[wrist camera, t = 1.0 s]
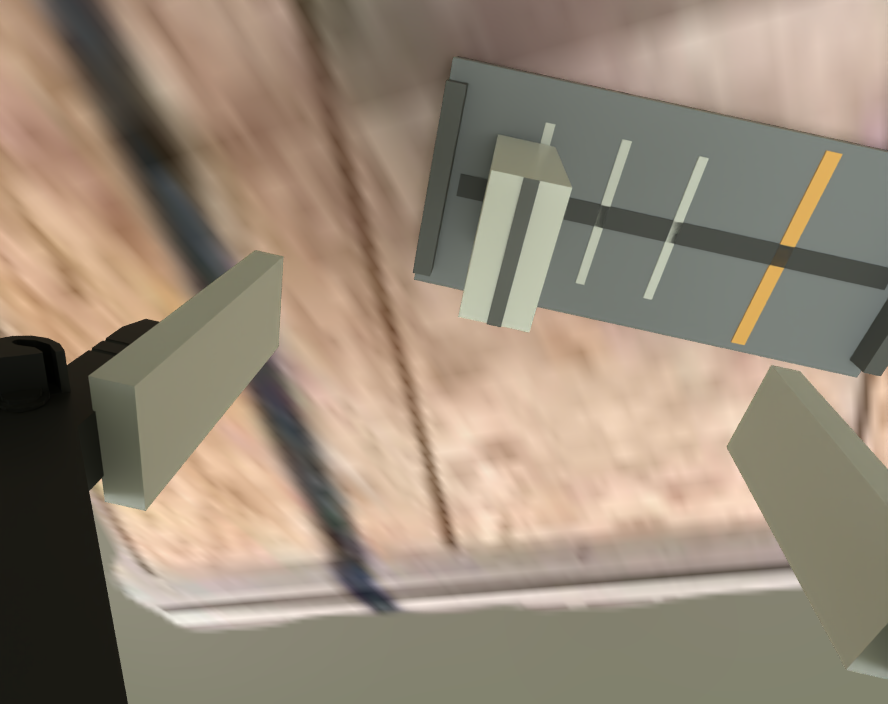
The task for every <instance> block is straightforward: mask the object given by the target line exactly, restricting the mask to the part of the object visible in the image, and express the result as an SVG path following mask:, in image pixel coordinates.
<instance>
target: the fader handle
mask: <svg viewBox="0 0 888 704" xmlns="http://www.w3.org/2000/svg"><path fill="white" fill-rule="evenodd" d="M571 191H572V186H571V184H570V181H569V179H568V176H567V174H566V172H565V169H564V167H563V164H562V162H561V160H560V157H559V155H558V153H557V150H556V148H555V147H554V146H549V145H545V144H540V143H535V142H531V141H526V140H522V139H517V138H513V137H508V136H504V135H499V134H498V137H497V141H496V146H495V150H494V155H493V159H492V164H491V168H490V173H489V177H488V182H487V186H486V190H485V195H484V199H483V204H482V208H481V213H480V217H479V222H478V226H477V231H476V235H475V240H474V244H473V249H472V254H471V258H470V263H469V268H468V273H467V278H466V282H465V287H464V292H463V297H462V302H461V306H460V311H459V316H458V317H462V318H466V319H471V320H475V321H480V322H484V323H487V324H489V325H493V326H498V327H501V326H502V327H507V328H511V329H516V330H520V331H525V332H530V328H531V325H532V321H533V318H534V315H535V311H536V308H537V305H538V301H539V298H540V295H541V291H542V288H543V285H544V281H545V278H546V274H547V271H548V268H549V264H550V261H551V258H552V254H553V251H554V248H555V244H556V241H557V238H558V234H559V231H560V227H561V224H562V221H563V217H564V214H565V211H566V207H567V204H568V201H569V197H570V194H571Z"/></svg>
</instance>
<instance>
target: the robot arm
mask: <svg viewBox="0 0 888 704" xmlns="http://www.w3.org/2000/svg"><path fill="white" fill-rule="evenodd" d="M282 275H283V256H279V255H274V254H270V253H265V252H261V251H256V250H255V251H254V252H252V253H251V254H250V255H248V256H247V257H246V258H244V259H243V260H242V261H240V262H239V263H238V264H236V265H235V266H234V267H232V268H231V269H230V270H228V271H227V272H226V273H224V274H223V275H222V276H220V277H219V278H218V279H216V280H215V281H214V282H212V283H211V284H210V285H209V286H207V287H206V288H205V289H203V290H202V291H201V292H199V293H198V294H197V295H195V296H194V297H193V298H191V299H190V300H189V301H187V302H186V303H185V304H183V305H182V306H181V307H179V308H178V309H177V310H175V311H174V312H173V313H171V314H170V315H169V316H167V317H166V318H165V319H163V320H162V321H161V322H158V321H153V320H149V319H144V320H141V321H138V322H135V323H132V324H129V325H126V326H123V327H121V328H120V329H119V330H117V331H116V332H114V333H113V334H111V335H110V336H109V337H107V338H106V340H105V341H101V342H100V343H98V344H97V345H96V346H94V347H93V348H92V350H91V351H90V350H88V351H87V352H85V353H84V354H83V355H81V356H80V357H78V358H77V359H75V360H74V361H72V362H71V363H70V364H68V365H67V364H66V357H65V351H64V349H63V348H62V346H61V345H60V344H59V343H57V342H55V341H53V340H51V339H49V338H43V337H37V336H10V337H4V338H0V704H128V702H127V696H126V690H125V686H124V679H123V674H122V669H121V663H120V658H119V652H118V647H117V642H116V637H115V630H114V625H113V619H112V614H111V609H110V603H109V598H108V592H107V587H106V581H105V576H104V570H103V565H102V560H101V554H100V549H99V543H98V538H97V532H96V527H95V521H94V516H93V510H92V505H91V499H90V494H89V491H90V490H91V489H92V488H93V486H94V485H95V484H96V483H97V482H98V481H99V480H100V479H101V478H102V482H103V490H104V497H105V502H109V503H113V504H118V505H122V506H126V507H131V508H135V509H140V510H144V511H146V510H147V508H148V507H149V506H150V505H151V503H152V502H153V501H154V500H155V498H156V497H157V496H158V495H159V494H160V492H161V491H162V490H163V489H164V487H165V486H166V485H167V484H168V482H169V481H170V480H171V479H172V477H173V476H174V475H175V474H176V473H177V471H178V470H179V469H180V468H181V466H182V465H183V464H184V463H185V461H186V460H187V459H188V458H189V457H190V455H191V454H192V453H193V452H194V450H195V449H196V448H197V447H198V445H199V444H200V443H201V442H202V440H203V439H204V438H205V437H206V436H207V434H208V433H209V432H210V431H211V429H212V428H213V427H214V426H215V424H216V423H217V422H218V421H219V419H220V418H221V417H222V416H223V415H224V413H225V412H226V411H227V410H228V408H229V407H230V406H231V405H232V403H233V402H234V401H235V400H236V399H237V397H238V396H239V395H240V394H241V392H242V391H243V390H244V389H245V387H246V386H247V385H248V384H249V382H250V381H251V380H252V379H253V378H254V376H255V375H256V374H257V373H258V371H259V370H260V369H261V368H262V366H263V365H264V364H265V363H266V362H267V360H268V359H269V358H270V357H271V355H272V354H273V353H274V352H275V350H276V349H277V348H278V346H279V328H280V310H281V293H282ZM727 449H728V451H729V453H730V454H731V456H732V458H733V460H734V462H735V464H736V466H737V467H738V469H739V471H740V473H741V475H742V477H743V479H744V480H745V482H746V484H747V486H748V488H749V490H750V492H751V494H752V495H753V497H754V499H755V501H756V503H757V505H758V507H759V508H760V510H761V512H762V514H763V516H764V518H765V520H766V521H767V523H768V525H769V527H770V529H771V531H772V533H773V535H774V536H775V538H776V540H777V542H778V544H779V546H780V548H781V549H782V551H783V553H784V555H785V557H786V559H787V561H788V562H789V564H790V566H791V568H792V570H793V572H794V574H795V575H796V577H797V579H798V581H799V583H800V585H801V587H802V589H803V590H804V592H805V594H806V596H807V598H808V600H809V602H810V603H811V605H812V607H813V609H814V611H815V613H816V615H817V616H818V618H819V620H820V622H821V624H822V626H823V628H824V629H825V631H826V633H827V635H828V637H829V639H830V641H831V643H832V644H833V646H834V648H835V650H836V652H837V654H838V655H839V657H840V659H841V661H842V663H843V665H844V667H845V669H846V670H849V671H854V672H858V673H862V674H867V675H871V676H876V677H880V678H884V679H888V469H887V468H886V467H885V466H884V465H883V463H882V462H881V461H880V460H879V459H878V458H877V457H876V456H875V454H874V453H873V452H872V451H871V450H870V449H869V448H868V447H867V446H866V444H865V443H864V442H863V441H862V440H861V439H860V438H859V437H858V436H857V434H856V433H855V432H854V431H853V430H852V429H851V428H850V427H849V425H848V424H847V423H846V422H845V421H844V420H843V419H842V418H841V417H840V415H839V414H838V413H837V412H836V411H835V410H834V409H833V408H832V407H831V405H830V404H829V403H828V402H827V401H826V400H825V399H824V398H823V396H822V395H821V394H820V393H819V392H818V391H817V390H816V389H815V388H814V386H813V385H812V384H811V383H810V382H809V381H808V380H807V379H806V378H805V376H804V375H803V374H802V373H801V372H800V371H796V370H792V369H787V368H783V367H778V366H774V365H771V366H770V368H769V370H768V372H767V374H766V376H765V377H764V379H763V381H762V383H761V385H760V387H759V388H758V390H757V392H756V394H755V396H754V398H753V399H752V401H751V403H750V405H749V407H748V409H747V410H746V412H745V414H744V416H743V418H742V420H741V421H740V423H739V425H738V427H737V429H736V431H735V432H734V434H733V436H732V438H731V440H730V442H729V443H728V445H727Z"/></svg>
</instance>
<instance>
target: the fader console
mask: <svg viewBox="0 0 888 704" xmlns="http://www.w3.org/2000/svg"><path fill="white" fill-rule="evenodd" d="M498 134H499V135H504V136H508V137H513V138H517V139H522V140H526V141H531V142H535V143H540V144H545V145H549V146H554V147H555V148H556V150H557V153H558V155H559V157H560V160H561V162H562V164H563V167H564V169H565V172H566V174H567V176H568V179H569V181H570V184H571V186H572V191H571V194H570V197H569V201H568V204H567V207H566V211H565V214H564V217H563V221H562V224H561V227H560V231H559V234H558V238H557V241H556V244H555V248H554V251H553V254H552V258H551V261H550V264H549V268H548V271H547V274H546V278H545V281H544V285H543V288H542V291H541V295H540V298H539V301H538V305H537V307H540V308H545V309H549V310H554V311H558V312H563V313H568V314H572V315H577V316H581V317H586V318H590V319H595V320H599V321H604V322H608V323H613V324H617V325H622V326H626V327H631V328H635V329H640V330H644V331H649V332H653V333H658V334H662V335H667V336H671V337H676V338H681V339H685V340H690V341H694V342H699V343H703V344H708V345H712V346H717V347H721V348H726V349H730V350H735V351H739V352H744V353H748V354H753V355H757V356H762V357H766V358H771V359H775V360H780V361H785V362H789V363H794V364H798V365H803V366H807V367H812V368H816V369H821V370H825V371H830V372H834V373H839V374H843V375H848V376H852V377H858V375H859V374H860V372H861V371H862V372H864V373H868V374H873V375H877V376H881V375H882V374H883V372H884V371H885V369H886V368H887V366H888V150H883V149H879V148H874V147H870V146H865V145H861V144H856V143H851V142H847V141H842V140H838V139H833V138H829V137H824V136H819V135H815V134H810V133H806V132H801V131H797V130H792V129H787V128H783V127H778V126H774V125H769V124H765V123H760V122H756V121H751V120H746V119H742V118H737V117H733V116H728V115H724V114H719V113H714V112H710V111H705V110H701V109H696V108H692V107H687V106H683V105H678V104H673V103H669V102H664V101H660V100H655V99H651V98H646V97H641V96H637V95H632V94H628V93H623V92H619V91H614V90H609V89H605V88H600V87H596V86H591V85H587V84H582V83H578V82H573V81H568V80H564V79H559V78H555V77H550V76H546V75H541V74H536V73H532V72H527V71H523V70H518V69H514V68H509V67H504V66H500V65H495V64H491V63H486V62H482V61H477V60H473V59H468V58H463V57H459V56H458V57H453V61H452V67H451V73H450V78H449V80H446V85H445V91H444V96H443V102H442V108H441V114H440V119H439V125H438V131H437V137H436V142H435V148H434V154H433V160H432V165H431V171H430V177H429V183H428V188H427V194H426V200H425V205H424V211H423V217H422V223H421V228H420V234H419V240H418V246H417V251H416V257H415V263H414V269H413V273H415V277H414V280H418V281H423V282H427V283H432V284H436V285H441V286H445V287H450V288H454V289H459V290H464V287H465V282H466V278H467V273H468V268H469V263H470V258H471V254H472V249H473V244H474V240H475V235H476V231H477V226H478V222H479V217H480V213H481V208H482V204H483V199H484V195H485V190H486V186H487V182H488V177H489V173H490V168H491V164H492V159H493V155H494V150H495V146H496V141H497V137H498Z"/></svg>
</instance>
